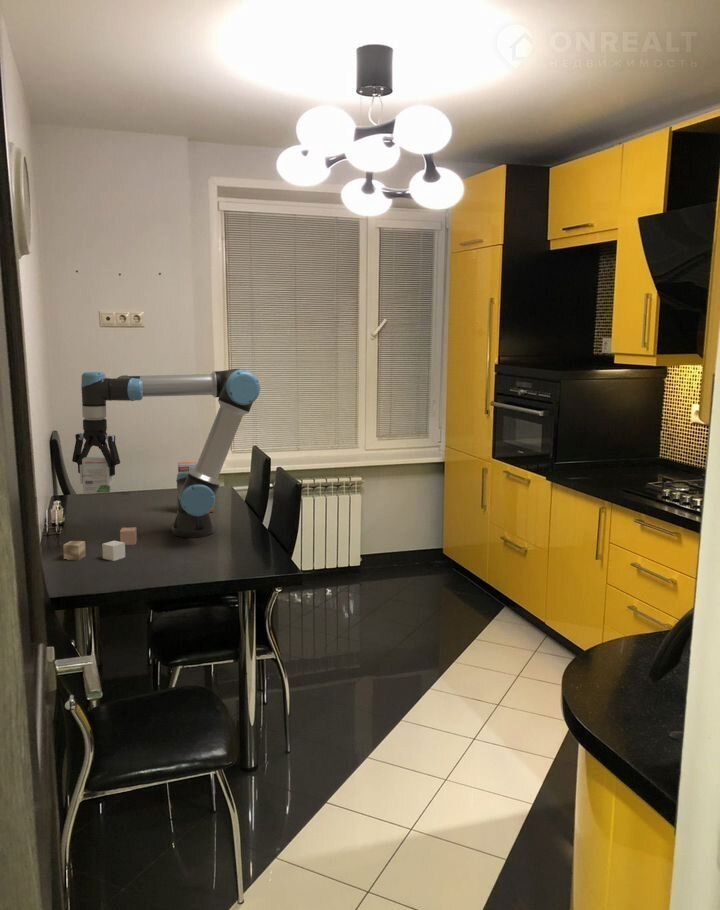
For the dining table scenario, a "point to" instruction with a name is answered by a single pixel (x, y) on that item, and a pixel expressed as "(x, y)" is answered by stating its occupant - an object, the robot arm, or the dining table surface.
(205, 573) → the dining table surface
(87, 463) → the ink box
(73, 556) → the maple cube
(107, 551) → the off-white cube
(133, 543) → the terracotta cube
